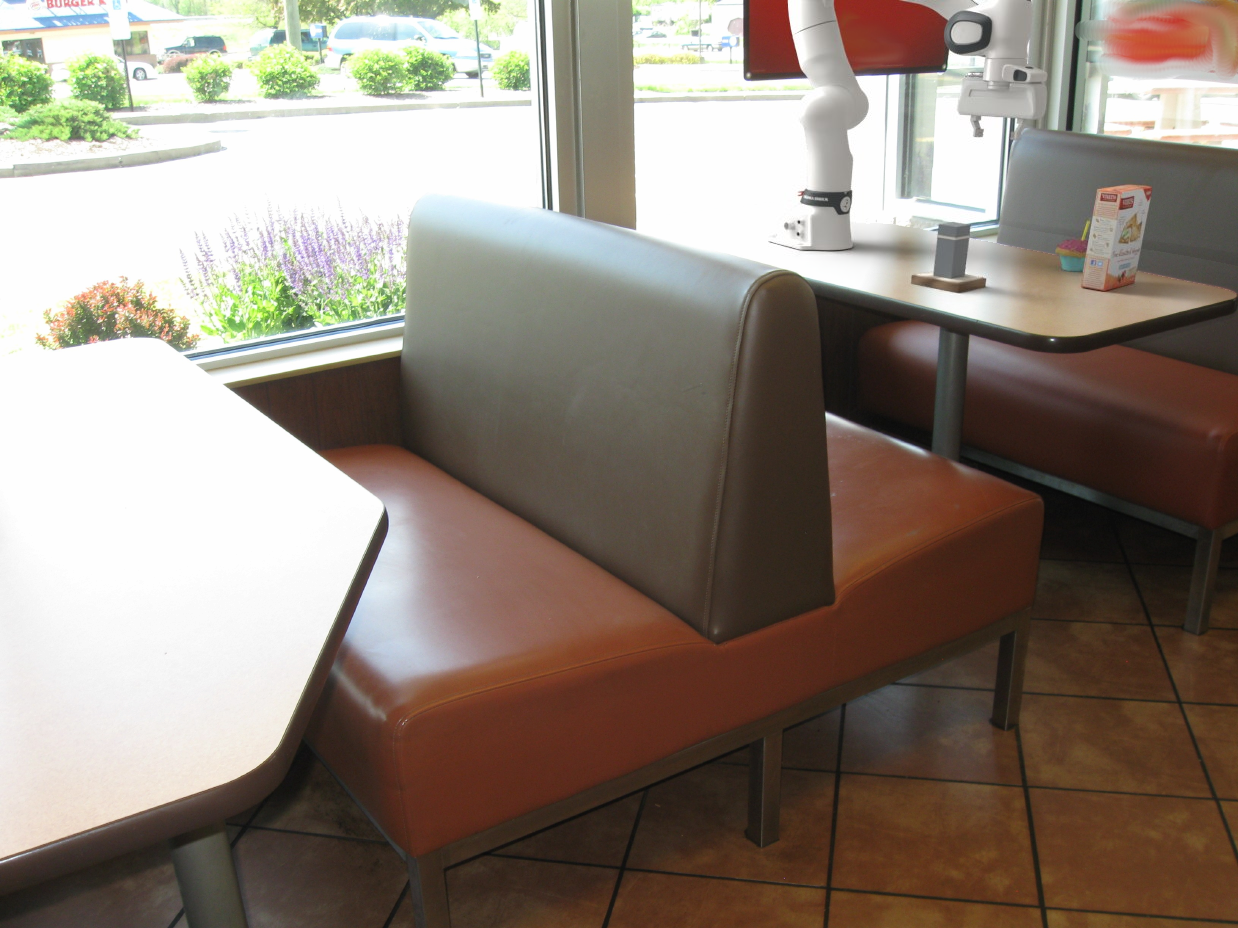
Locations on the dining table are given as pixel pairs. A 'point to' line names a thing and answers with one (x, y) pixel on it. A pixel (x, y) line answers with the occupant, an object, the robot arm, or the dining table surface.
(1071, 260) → the cupcake
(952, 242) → the grey upright pillar block
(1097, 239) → the cracker box
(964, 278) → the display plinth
